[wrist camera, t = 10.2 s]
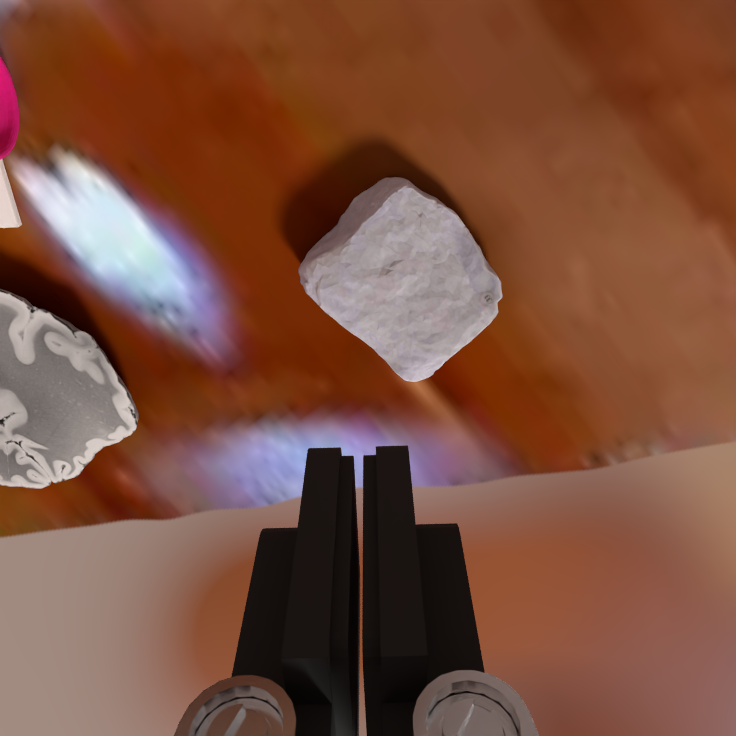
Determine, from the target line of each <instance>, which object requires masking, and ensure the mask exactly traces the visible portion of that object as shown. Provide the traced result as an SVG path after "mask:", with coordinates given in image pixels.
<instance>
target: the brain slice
mask: <svg viewBox="0 0 736 736" xmlns="http://www.w3.org/2000/svg"><path fill="white" fill-rule="evenodd" d="M137 422H138V411H137V408H136V405H135V403H134V401H133V399H132V397H131V394H130V392H129V391H128V389H127V387H126V385H125V384H124V382H123V380H122V379H121V378H120V377H119V375H118V374H117V373H116V371H115V370H114V369H113V367H112V365H111V363H110V361H109V360H108V358H107V356H106V354H105V353H104V351H103V350H102V349H101V348H100V347H99V345H98V344H97V342H96V341H95V339H94V338H93V337H92V336H91V335H90V334H88V333H86V332H85V331H81V330H79V329H78V328H76V327H74V325H73V324H72V323H70V322H68V321H66V320H64V319H62V318H60V317H58V316H56V315H54V314H53V313H50V312H48V311H46V310H44V309H39V308H37V307H35V306H32V304H31V303H30V302H29V301H27V300H26V299H25V298H23V297H20V296H18V295H16V294H13V293H11V292H9V291H6V290H3V289H0V485H4V486H22V487H25V488H44V487H47V486H49V485H50V484H51V482H54V483H58V482H60V481H64V480H67V479H70V478H74V477H77V476H78V475H79V474H80V473H81V471H82V470H83V468H84V467H85V466H86V465H87V464H88V463H89V462H90V461H91V460H92V459H93V458H94V456H95V454H96V453H97V452H98V451H99V450H101V449H102V448H103V447H105V446H109V445H112V444H115V443H118V442H120V441H121V440H122V439H123V438H125V437H127V436H129V435H131V434H132V433H133V432H134V431H135V430H136V426H137Z"/></svg>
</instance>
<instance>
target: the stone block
mask: <svg viewBox="0 0 736 736" xmlns="http://www.w3.org/2000/svg"><path fill="white" fill-rule="evenodd" d="M298 272H299V275H300V278H301V280H300V282H301V284H302V285H303V287H304V289H305V292H306V293H307V294H308V295H309V296H310V297H311V298H312V299H313V300H314V301H315V302H316V303H317V304H318V305H319V306H320V307H321V308H322V309H323V310H324V311H325V312H326V313H327V314H328V315H330V316H331V317H332V318H333V319H335V320H336V321H337V322H338V323H339V324H340V325H342V326H343V327H344V328H346V329H347V330H348V331H349V332H351V333H352V334H354V335H355V336H357V337H358V338H360V339H361V340H363V341H364V342H365V343H367V344H368V345H369V346H370V347H372V348H373V349H374V350H375V351H376V352H377V353H378V354H379V356H381V357H382V358H383V359H385V361H386V362H387V363H388V364H389V365H390V367H391V368H392V369H393V370H394V372H395V373H396V374H398V375H399V376H400V377H401V378H402V379H404V380H405V381H411V382H417V381H420V380H423V379H425V378H428V377H430V376H431V375H433V374H434V372H435V371H436V370H437V369H439V368H440V367H441V366H442V365H443V364H444V362H445V361H447V360H448V359H449V358H450V357H451V356H453V355H454V354H455V353H457V352H458V351H459V350H460V349H461V348H462V347H464V346H465V345H466V344H468V343H469V342H471V341H472V340H473V339H474V338H475V337H476V336H477V335H478V334H479V333H480V332H481V331H482V330H483V329H484V328H485V327H487V326H488V325H489V324H490V323H491V322H492V320H493V319H494V318H495V316H496V315H497V313H498V307H497V304H498V301H499V300H500V299H501V298H502V291H501V281H500V279H499V277H498V276H497V274H496V273H495V272H494V270H493V269H492V268H491V267H490V265H489V264H488V262H487V261H486V259H485V258H484V256H483V254H482V251H481V249H480V247H479V246H478V245H477V243H476V242H475V240H474V238H473V236H472V235H471V233H470V232H469V230H468V229H467V228H466V227H465V225H464V223H463V222H462V220H461V219H460V218H459V216H458V215H457V214H456V213H455V212H454V211H453V210H452V209H450V208H448V207H446V206H445V205H444V203H442V202H441V201H439V200H438V199H437V198H436V197H433V196H431V195H429V194H427V193H425V192H423V191H421V190H420V189H418V188H417V187H416V186H414V185H413V184H412V183H411V182H410V181H409V180H407V179H404V178H402V177H401V178H399V177H392V178H389V177H385V178H384V179H382V180H380V181H378V182H377V183H376V184H375V185H374V186H372V187H370V188H369V189H367V190H366V191H364V192H362V193H360V195H358V196H357V197H355V198H354V199H353V201H352V203H351V204H350V205H349V207H348V209H347V210H346V211H345V213H344V214H342V215H341V217H340V220H339V222H338V224H337V225H336V226H335V227H334V228H333V229H332V230H331V231H330V232H328V233H327V234H326V235H325V236H323V237H322V238H321V239H320V241H318V242H317V243H316V244H315V245H314V246H313V247H312V248H311V249H310V250H309V251H308V253H307V254H306V256H305V259H304V260H303V262H302V263H301V265H300V267H299V269H298Z"/></svg>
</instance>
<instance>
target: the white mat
mask: <svg viewBox="0 0 736 736" xmlns="http://www.w3.org/2000/svg"><path fill="white" fill-rule="evenodd" d="M21 225H22V223H21V220H20V216H19V213H18V210H17V206H16V203H15V200H14V196H13V193H12V190H11V187H10V183H9V180H8V177H7V173H6V170H5V167H4V163H3V160H2V159H1V160H0V228H8V227H19V226H21Z"/></svg>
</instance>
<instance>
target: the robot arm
mask: <svg viewBox="0 0 736 736" xmlns="http://www.w3.org/2000/svg"><path fill="white" fill-rule="evenodd" d="M362 632H363V633H362V635H363V636H362V639H363V675H364V692H365V708H366V709H365V710H366V728H367V736H539V735H538V732H537V729H536V727H535V724H534V722H533V719H532V717H531V714H530V712H529V711H528V709H527V707H526V705H525V703H524V702H523V700H522V698H521V697H520V696H519V695H518V694H517V693H516V692H515V691H514V690H513V689H512V688H511V687H510V686H509V685H508V684H507V683H505V682H503V681H502V680H500V679H498V678H496V677H495V676H493V675H491V674H487V673H485V672H484V667H483V661H482V656H481V650H480V644H479V639H478V633H477V627H476V621H475V616H474V610H473V605H472V599H471V593H470V588H469V582H468V576H467V571H466V565H465V559H464V553H463V548H462V542H461V536H460V532H459V527H458V525H457V524H420V525H415V514H414V504H413V493H412V483H411V472H410V461H409V451H408V446H378V447H376V455H364V457H363V630H362ZM359 649H360V566H359V547H358V528H357V510H356V491H355V472H354V457H353V456H342V454H341V448H309V449H308V453H307V460H306V468H305V475H304V483H303V491H302V498H301V506H300V515H299V522H298V528H266V529H262V531H261V534H260V537H259V542H258V547H257V551H256V557H255V562H254V566H253V572H252V577H251V583H250V587H249V592H248V597H247V602H246V607H245V612H244V617H243V622H242V627H241V632H240V637H239V642H238V647H237V652H236V657H235V662H234V668H233V673H232V677H231V678H227V679H224V680H221V681H219V682H217V683H215V684H214V685H212V686H210V687H209V688H207V689H205V690H204V691H203V692H202V693H201V694H200V695H199V696H198V697H197V698H196V699H195V700H194V701H193V702H192V703H191V704H190V705H189V706H188V708H187V710H186V712H185V713H184V715H183V717H182V719H181V720H180V722H179V724H178V727H177V729H176V732H175V734H174V736H359V657H360V656H359V655H360V650H359Z"/></svg>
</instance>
